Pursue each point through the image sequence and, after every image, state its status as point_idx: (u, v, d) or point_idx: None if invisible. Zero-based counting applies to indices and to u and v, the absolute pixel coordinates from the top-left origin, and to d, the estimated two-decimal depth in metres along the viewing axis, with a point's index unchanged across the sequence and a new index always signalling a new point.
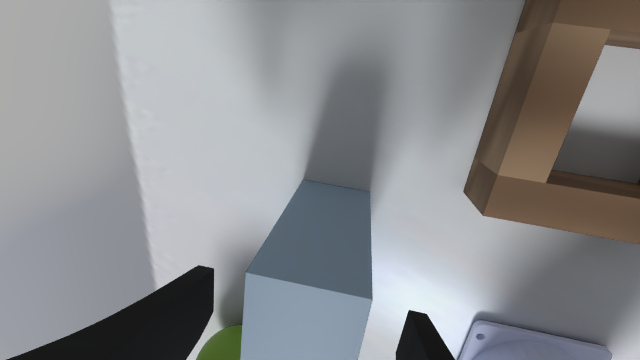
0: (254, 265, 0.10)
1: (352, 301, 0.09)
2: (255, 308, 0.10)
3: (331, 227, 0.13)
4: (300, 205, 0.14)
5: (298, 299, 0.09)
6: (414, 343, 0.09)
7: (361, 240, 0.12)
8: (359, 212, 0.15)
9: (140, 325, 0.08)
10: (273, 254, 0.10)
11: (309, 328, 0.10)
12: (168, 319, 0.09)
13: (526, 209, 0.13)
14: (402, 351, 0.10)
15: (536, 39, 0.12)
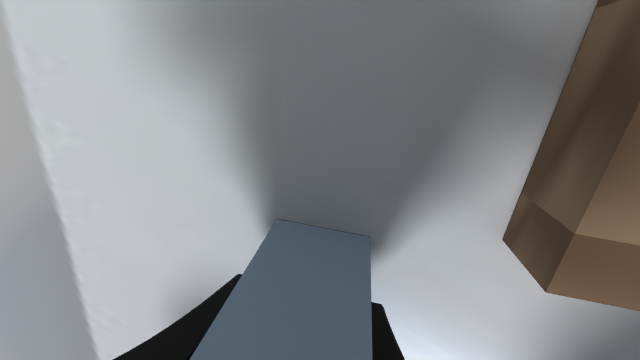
0: None
1: None
2: None
3: (307, 321, 0.08)
4: (264, 272, 0.09)
5: None
6: None
7: (356, 353, 0.07)
8: (355, 282, 0.10)
9: (197, 339, 0.07)
10: None
11: None
12: None
13: (617, 285, 0.08)
14: None
15: None
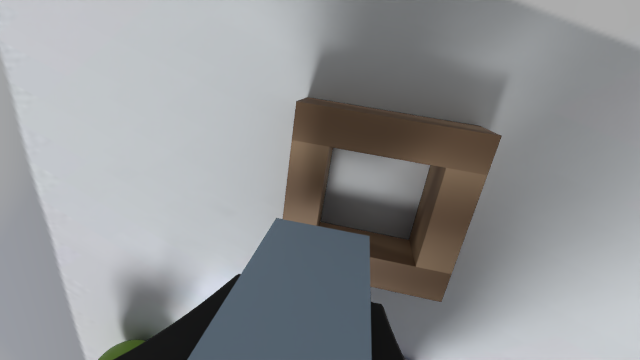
0: None
1: None
2: None
3: (306, 320, 0.08)
4: (263, 271, 0.09)
5: None
6: None
7: (355, 352, 0.07)
8: (354, 280, 0.10)
9: (197, 339, 0.07)
10: None
11: None
12: None
13: None
14: None
15: None
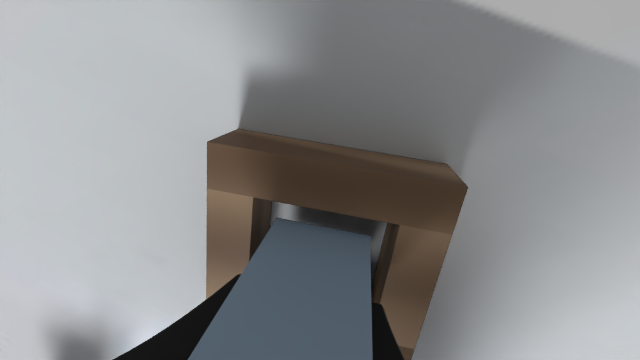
0: None
1: None
2: None
3: (306, 320, 0.08)
4: (263, 271, 0.09)
5: None
6: None
7: (356, 351, 0.07)
8: (354, 280, 0.10)
9: (197, 339, 0.07)
10: None
11: None
12: None
13: None
14: None
15: None
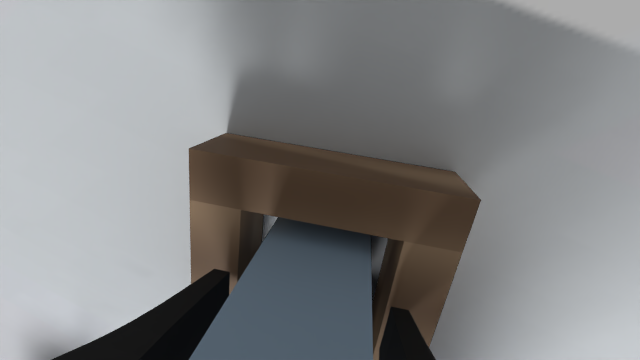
0: None
1: None
2: None
3: (316, 285, 0.09)
4: (276, 247, 0.11)
5: None
6: (394, 339, 0.09)
7: (358, 309, 0.08)
8: (356, 256, 0.11)
9: (162, 330, 0.07)
10: (222, 347, 0.07)
11: None
12: (188, 324, 0.08)
13: None
14: (384, 347, 0.10)
15: None
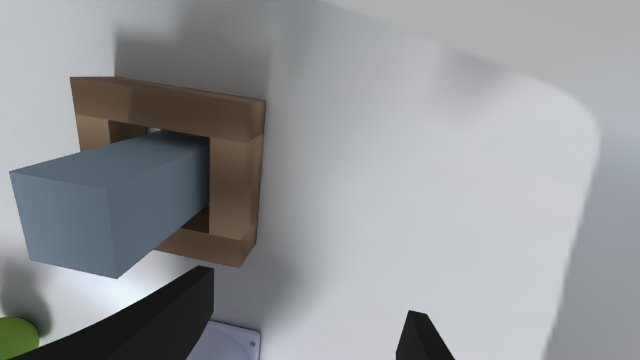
0: (23, 168, 0.12)
1: (92, 193, 0.11)
2: (25, 205, 0.12)
3: (138, 155, 0.15)
4: (129, 143, 0.16)
5: (53, 194, 0.11)
6: (414, 343, 0.09)
7: (155, 163, 0.14)
8: (184, 149, 0.17)
9: (140, 325, 0.08)
10: (53, 164, 0.12)
11: (70, 221, 0.12)
12: (168, 319, 0.09)
13: None
14: (402, 351, 0.10)
15: None
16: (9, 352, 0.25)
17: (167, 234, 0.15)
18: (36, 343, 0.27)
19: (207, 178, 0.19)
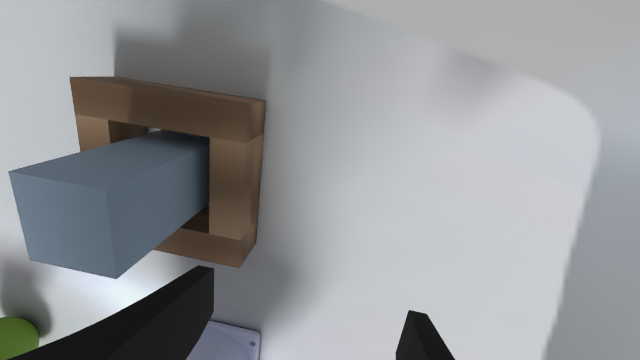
0: (23, 168, 0.12)
1: (91, 193, 0.11)
2: (25, 205, 0.12)
3: (138, 155, 0.15)
4: (129, 143, 0.16)
5: (53, 194, 0.11)
6: (414, 343, 0.09)
7: (154, 163, 0.14)
8: (184, 149, 0.17)
9: (140, 325, 0.08)
10: (53, 165, 0.12)
11: (69, 221, 0.12)
12: (168, 319, 0.09)
13: None
14: (402, 351, 0.10)
15: None
16: (9, 352, 0.25)
17: (167, 234, 0.15)
18: (36, 343, 0.27)
19: (207, 178, 0.19)
